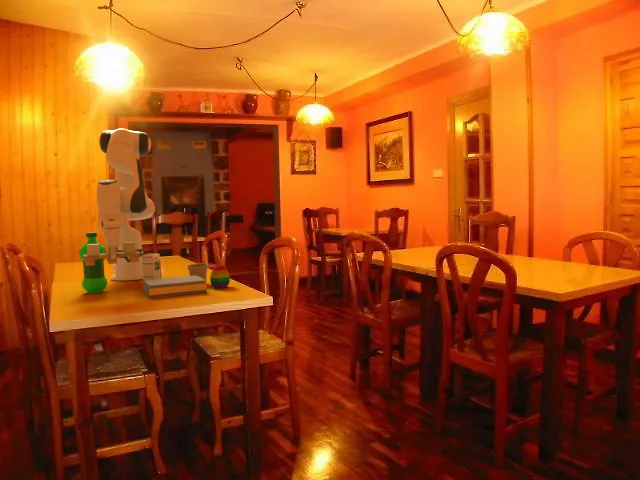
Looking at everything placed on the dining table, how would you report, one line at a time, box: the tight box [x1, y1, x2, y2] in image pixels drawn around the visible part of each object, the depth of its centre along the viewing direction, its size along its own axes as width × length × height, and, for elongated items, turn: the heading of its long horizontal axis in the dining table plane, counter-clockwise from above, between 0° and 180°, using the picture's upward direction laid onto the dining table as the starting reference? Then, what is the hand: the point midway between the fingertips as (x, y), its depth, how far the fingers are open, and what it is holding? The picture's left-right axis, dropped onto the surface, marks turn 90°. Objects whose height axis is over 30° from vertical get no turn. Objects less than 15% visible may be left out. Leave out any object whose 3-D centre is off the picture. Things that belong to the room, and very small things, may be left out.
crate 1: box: [87, 244, 100, 256], centre depth 206 cm, size 4×4×4 cm
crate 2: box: [123, 242, 136, 253], centre depth 211 cm, size 4×4×4 cm
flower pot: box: [186, 263, 209, 281], centre depth 238 cm, size 9×9×9 cm
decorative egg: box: [209, 263, 231, 290], centre depth 228 cm, size 8×8×10 cm
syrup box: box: [142, 253, 162, 285], centre depth 233 cm, size 6×6×14 cm
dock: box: [142, 275, 208, 299], centre depth 220 cm, size 17×22×5 cm
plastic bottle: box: [78, 231, 108, 295], centre depth 224 cm, size 10×10×25 cm
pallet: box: [83, 251, 140, 266], centre depth 209 cm, size 6×20×4 cm, turn 116°
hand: (112, 257), depth 209 cm, fingers closed on pallet, 6 cm apart
